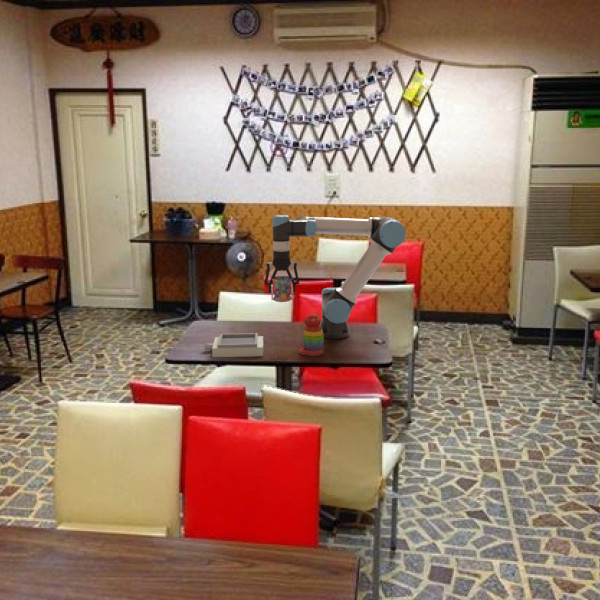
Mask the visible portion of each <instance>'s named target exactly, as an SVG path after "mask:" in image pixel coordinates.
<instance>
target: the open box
mask: <svg viewBox="0 0 600 600" xmlns="http://www.w3.org/2000/svg"><path fill="white" fill-rule="evenodd" d="M258 334H259V333H258V332H255V333H254V332H248V333H246V332H245V333H220V334H219V336H215V337H214V341H213V343H204V351H212V352H211V353H212V358H233V357H235V358H237V357H263V356H264V336H263V335H258Z"/></svg>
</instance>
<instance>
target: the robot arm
mask: <svg viewBox="0 0 600 600" xmlns="http://www.w3.org/2000/svg"><path fill="white" fill-rule="evenodd" d="M317 234H321V235H322V234H323V235H324V234H326V235H345V236H347V235H349V236H365V237H366V236H367V238H368V239H370V245H369V246H368V248H367V249H366V251H365V252H364V253H363V255H362V256H361V257H360V259H359V260H358V261H357V263H356V265H355V266H354V268H353V269H352V270H351V272H350V273H349V274H348V276H347V277H346V279H345V280H344V281H343V283H342V285H341V286H339V287H326V288H323V289H322V290H321V322H320V325H319V326H320V327H321V329H322V330H323V335H324V339H329V340H330V339H332V340H337V339H338V340H339V339H345V338H347V337H348V338H349V337H350V333H351V331H350V328H349V327H350V326H349V324H348V319H349V318H350V316H351V313H352V310H353V308H354V307H355V306H356V304H357V297H358V296H359V295H360V293H361V291H362V290H363V289H364V287H365V286H366V285H367V284H368V281H369V280H370V278H371V277H373V275H374V273H375V272H376V270H377V269H378V267H379V266H380V265H381V264H382V262H383V260H384V259H385V258H386V256H388V255H392V254H393V253H394V252H395V250H396V249H397V248H398V247H399V246H401V245H402V244H403V243H404V241H405V239H406V237H407V233H406V229H405V226H404V225H403V223H402V222H401V221H399V220H397V219H396V218H394V217H390V216H381V217H379V216H377V217H375V216H374V217H371V216H370V217H369V218H368V219H366V218H365V219H364V218H347V217H346V218H342V217H325V216H324V217H322V216H320V217H319V216H306V215H300V216H298V217H296V219H290V216H289V215H287V214H277V215H274V216H273V217H272V249H273V252H272V253H273V255H272V256H273V257H272V261H271V262H269V261H268V262H266V272H265V279H264V285H266V286H268V293H269V294H270V293H271V294H270V295H271V297H270V298H271V301H274V300H273V298H274V284H273V281H272V279H274V278H275V277H276V276H277V273H278V272H281V271H283V272H286V273H287V276H289V278H290V279H291V278H292V280H291V284H290V296H291V298H292V299H291V300H290V301H293V300H294V293H296V286H297V285H299V284H300V280H299V274H298V269H297V266H298V263H297V261H294V262H293V261H291V253H290V249H291V246H290V245H291V241H290V240H291V239H290V238H294V237H300V238H301V237H302V238H303V237H305V238H307V237H308V238H310V237H316V235H317ZM272 266H273V267H274V268H275V269H274V271H273V273H272V274H271V277H270V280H269V275H270V270H271V268H272ZM290 266H291V267H292V268H293V272H294V277H295V280H294V277H293V276H292V274H291V271H290V269H289V268H290Z"/></svg>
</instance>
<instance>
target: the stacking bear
mask: <svg viewBox="0 0 600 600" xmlns="http://www.w3.org/2000/svg"><path fill="white" fill-rule="evenodd" d="M321 320H322V318H321V317H320V316H319V313H318V312H316V313H310V314H308V315H306V317H305V319H304V321H303V322H304V324H305V326H304V330H303V334H302V343H303V347H302V348H299V349H298V351H297V353H298V354H299V355H303V356H321V355H323V354H324V348H323V347H324V342H325V338H324V335H323V330H322V329H321V327H320V324H321Z"/></svg>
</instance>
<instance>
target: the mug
mask: <svg viewBox="0 0 600 600" xmlns="http://www.w3.org/2000/svg"><path fill="white" fill-rule="evenodd" d="M291 280H292V278H291V279H290V278H289V276H288V275H287V276H286V275H278V276H277V275H276V276H275V278H274V279H272V281H273V282H272V285H273V289H274V293H273V300H272V301H274V302H278V303H286V302H290V301H292V300H291V299H292V298H291V284H292V282H291Z"/></svg>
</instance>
